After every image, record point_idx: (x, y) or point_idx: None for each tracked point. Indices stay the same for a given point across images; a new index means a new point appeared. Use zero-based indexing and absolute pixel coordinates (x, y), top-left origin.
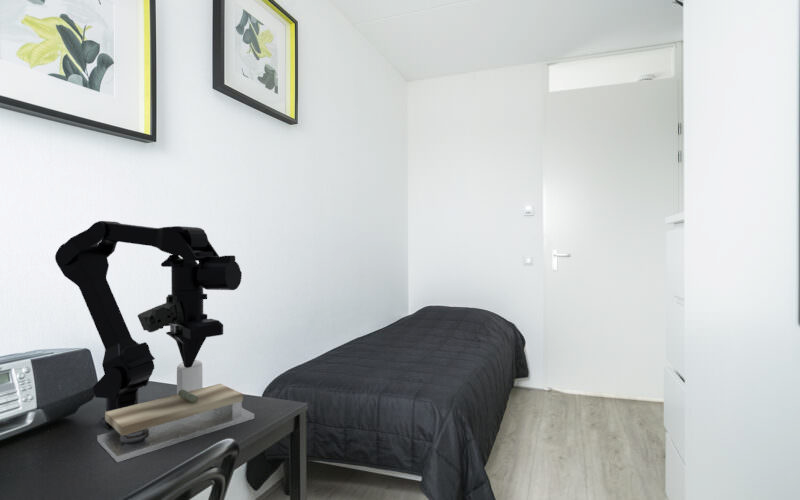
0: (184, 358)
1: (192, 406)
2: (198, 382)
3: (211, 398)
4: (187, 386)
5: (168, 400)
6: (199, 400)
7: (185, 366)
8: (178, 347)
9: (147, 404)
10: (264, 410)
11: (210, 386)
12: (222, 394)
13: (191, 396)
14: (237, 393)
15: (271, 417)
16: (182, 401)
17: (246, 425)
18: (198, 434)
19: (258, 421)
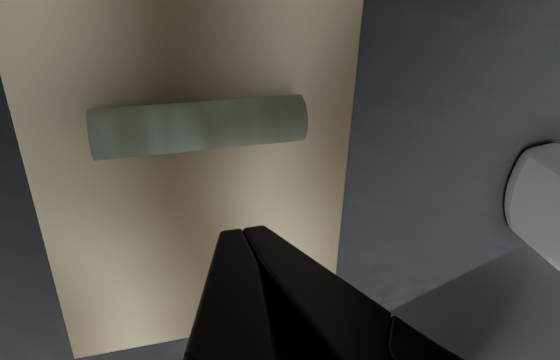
0: (230, 286)
1: (27, 95)
2: (539, 241)
3: (115, 224)
4: (546, 195)
5: (279, 17)
6: (129, 163)
7: (233, 232)
8: (427, 346)
9: None
10: (134, 347)
11: (329, 266)
12: (143, 282)
13: (108, 130)
14: (101, 340)
15: (34, 350)
16: (187, 78)
17: (8, 259)
18: None
19: (23, 305)
